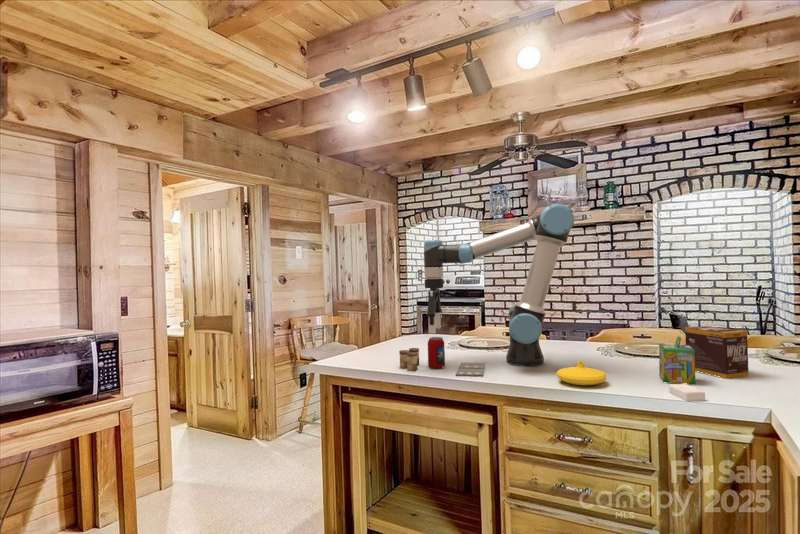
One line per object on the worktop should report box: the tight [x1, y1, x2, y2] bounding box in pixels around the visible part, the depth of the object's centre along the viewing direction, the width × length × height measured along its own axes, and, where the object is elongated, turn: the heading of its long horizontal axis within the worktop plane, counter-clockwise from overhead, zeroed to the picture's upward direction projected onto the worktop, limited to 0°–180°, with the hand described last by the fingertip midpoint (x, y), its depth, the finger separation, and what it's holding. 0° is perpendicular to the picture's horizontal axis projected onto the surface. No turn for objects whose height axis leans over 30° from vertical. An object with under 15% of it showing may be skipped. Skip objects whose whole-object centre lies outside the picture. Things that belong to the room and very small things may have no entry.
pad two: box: [458, 362, 486, 370], centre depth 178 cm, size 10×10×1 cm
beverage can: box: [427, 336, 446, 370], centre depth 178 cm, size 7×7×12 cm
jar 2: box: [408, 347, 420, 367], centre depth 185 cm, size 4×4×7 cm
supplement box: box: [684, 325, 750, 379], centre depth 156 cm, size 10×15×16 cm
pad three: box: [455, 367, 485, 378], centre depth 167 cm, size 10×10×1 cm
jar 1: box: [399, 349, 410, 370], centre depth 180 cm, size 4×4×7 cm
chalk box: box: [658, 335, 697, 385], centre depth 148 cm, size 9×9×15 cm
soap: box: [669, 383, 706, 402], centre depth 130 cm, size 9×6×3 cm, turn 178°
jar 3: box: [406, 352, 419, 372], centre depth 176 cm, size 4×4×7 cm
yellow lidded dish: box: [556, 361, 608, 386], centre depth 149 cm, size 16×16×7 cm
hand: (435, 330), depth 178 cm, fingers open, 13 cm apart
